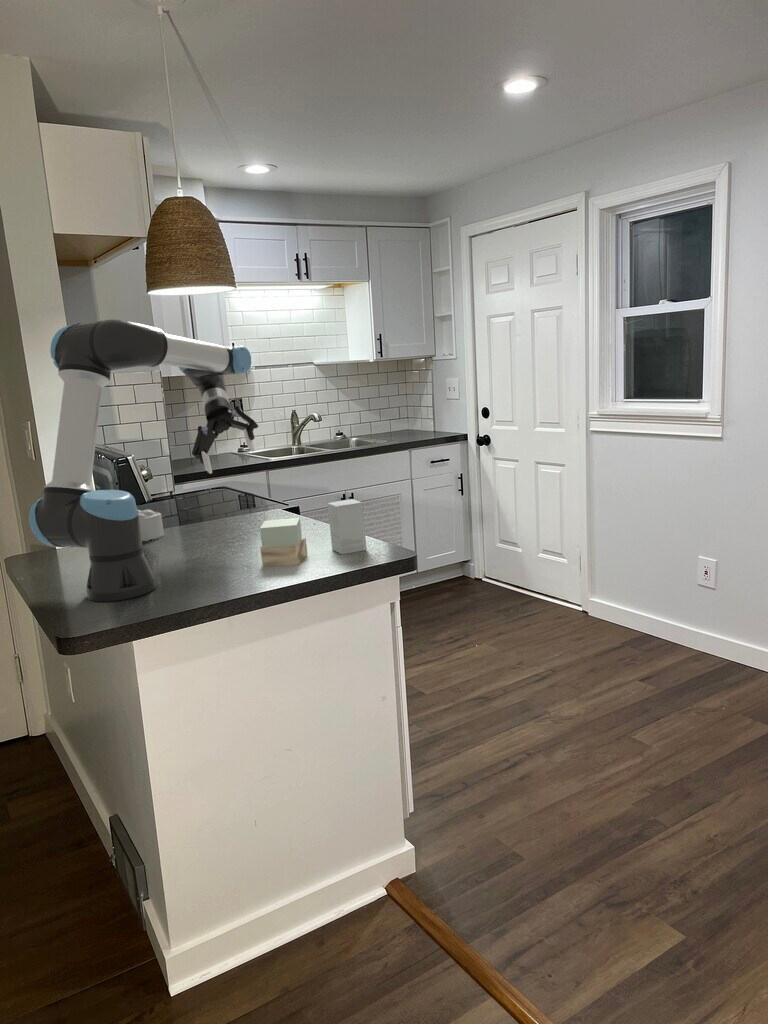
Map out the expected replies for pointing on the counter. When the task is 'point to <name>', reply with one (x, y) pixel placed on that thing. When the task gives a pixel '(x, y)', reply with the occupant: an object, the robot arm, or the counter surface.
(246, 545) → the counter surface
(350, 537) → the supplement box
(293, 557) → the block bottom
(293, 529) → the block top
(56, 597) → the counter surface
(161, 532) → the white bumpy block
